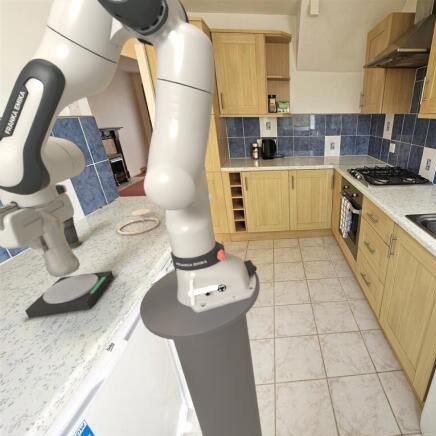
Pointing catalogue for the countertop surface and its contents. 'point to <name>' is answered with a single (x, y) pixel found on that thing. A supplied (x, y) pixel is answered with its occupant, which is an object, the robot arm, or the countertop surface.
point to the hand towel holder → (141, 214)
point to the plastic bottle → (56, 247)
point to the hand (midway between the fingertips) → (52, 246)
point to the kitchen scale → (71, 294)
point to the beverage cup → (71, 233)
